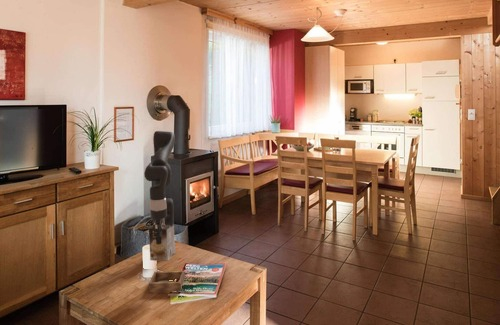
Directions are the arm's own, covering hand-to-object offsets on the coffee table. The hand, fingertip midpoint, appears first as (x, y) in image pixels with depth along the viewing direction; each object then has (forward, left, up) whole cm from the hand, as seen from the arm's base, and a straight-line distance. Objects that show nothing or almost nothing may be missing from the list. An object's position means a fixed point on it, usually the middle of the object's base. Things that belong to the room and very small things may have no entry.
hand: (160, 240), depth 176 cm
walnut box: (+2, +1, -24) cm, 24 cm away
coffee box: (0, 0, -9) cm, 9 cm away
